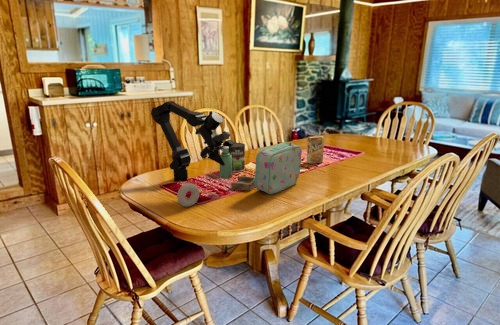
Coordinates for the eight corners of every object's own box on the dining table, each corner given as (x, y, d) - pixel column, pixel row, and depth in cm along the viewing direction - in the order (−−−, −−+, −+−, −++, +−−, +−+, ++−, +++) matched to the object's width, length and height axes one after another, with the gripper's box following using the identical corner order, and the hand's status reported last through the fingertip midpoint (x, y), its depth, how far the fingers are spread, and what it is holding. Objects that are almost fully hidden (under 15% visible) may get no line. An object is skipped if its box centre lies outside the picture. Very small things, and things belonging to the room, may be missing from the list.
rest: (231, 188, 165) (231, 182, 165) (238, 181, 175) (238, 175, 174) (250, 190, 163) (250, 184, 162) (257, 183, 172) (257, 177, 172)
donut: (197, 201, 150) (196, 179, 147) (201, 204, 148) (200, 181, 145) (176, 208, 144) (174, 185, 141) (180, 210, 141) (179, 187, 139)
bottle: (221, 179, 157) (221, 149, 153) (218, 175, 162) (217, 146, 158) (233, 178, 159) (233, 148, 155) (229, 174, 164) (229, 145, 160)
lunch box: (284, 178, 180) (286, 137, 174) (302, 182, 174) (304, 140, 168) (252, 192, 160) (252, 147, 154) (270, 198, 154) (271, 151, 148)
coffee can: (247, 171, 191) (247, 146, 187) (228, 172, 188) (228, 147, 185) (242, 166, 201) (242, 142, 197) (224, 167, 198) (224, 143, 194)
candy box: (309, 163, 205) (310, 138, 201) (306, 161, 209) (307, 136, 205) (323, 162, 208) (324, 137, 203) (319, 160, 211) (321, 135, 207)
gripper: (204, 128, 148) (225, 158, 146) (231, 122, 163) (250, 149, 160) (191, 144, 155) (210, 172, 152) (218, 136, 170) (236, 162, 167)
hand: (228, 163), depth 158 cm, fingers closed on bottle, 6 cm apart
